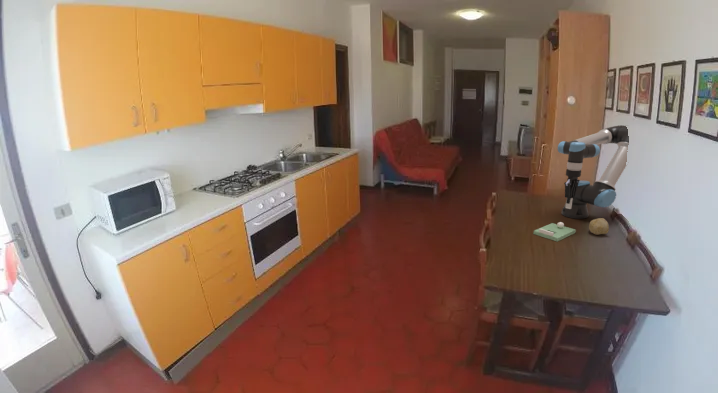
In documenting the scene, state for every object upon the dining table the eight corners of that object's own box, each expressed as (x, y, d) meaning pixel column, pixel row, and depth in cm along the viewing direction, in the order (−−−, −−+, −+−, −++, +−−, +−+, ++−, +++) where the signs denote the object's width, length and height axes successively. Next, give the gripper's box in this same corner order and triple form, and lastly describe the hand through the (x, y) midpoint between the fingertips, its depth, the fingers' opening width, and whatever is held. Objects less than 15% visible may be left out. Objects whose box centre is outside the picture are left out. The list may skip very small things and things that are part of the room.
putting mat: (551, 226, 223) (552, 219, 222) (575, 232, 212) (576, 226, 210) (533, 234, 212) (534, 227, 211) (557, 241, 201) (558, 234, 200)
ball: (558, 226, 217) (559, 220, 216) (564, 227, 214) (565, 222, 213) (555, 227, 215) (556, 221, 214) (561, 229, 212) (562, 223, 211)
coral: (617, 225, 203) (602, 219, 201) (606, 240, 206) (591, 234, 205) (606, 218, 211) (592, 212, 210) (596, 232, 215) (581, 226, 214)
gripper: (572, 166, 215) (567, 204, 222) (561, 169, 208) (556, 208, 214) (586, 168, 209) (580, 207, 216) (575, 172, 202) (569, 212, 209)
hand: (568, 208), depth 215 cm, fingers closed
